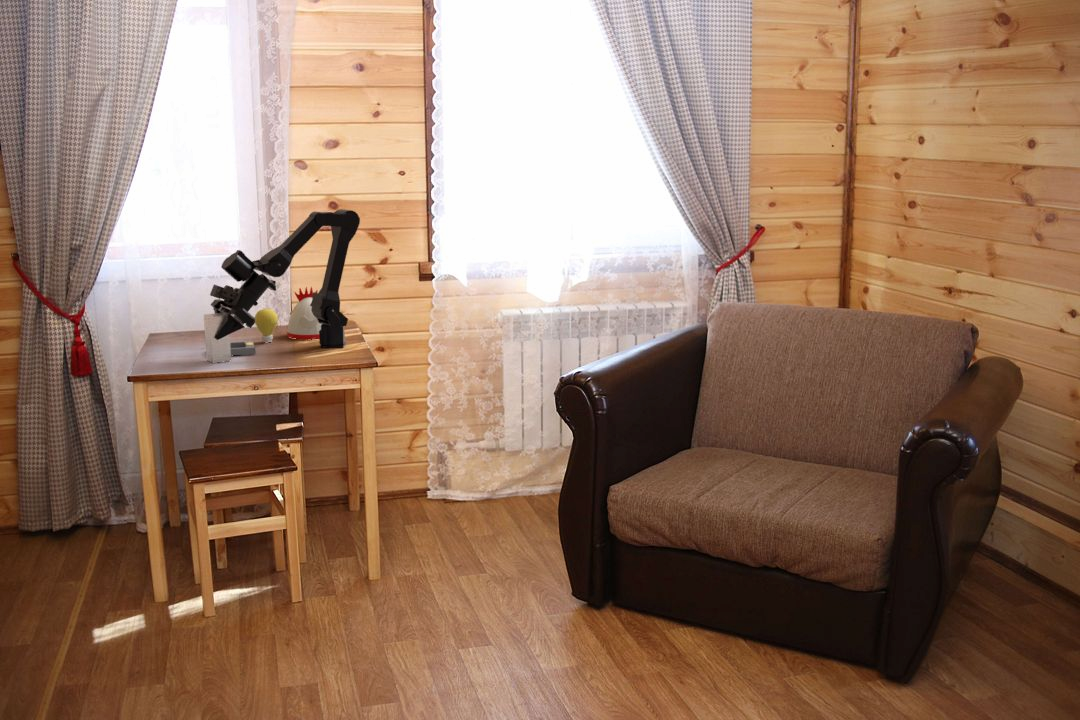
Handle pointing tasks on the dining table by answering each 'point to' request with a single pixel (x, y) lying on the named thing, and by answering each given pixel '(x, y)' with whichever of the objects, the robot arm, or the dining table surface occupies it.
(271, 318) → the light bulb
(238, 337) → the dining table surface
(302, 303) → the kitchen timer
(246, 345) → the plate
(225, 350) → the rectangular block post
